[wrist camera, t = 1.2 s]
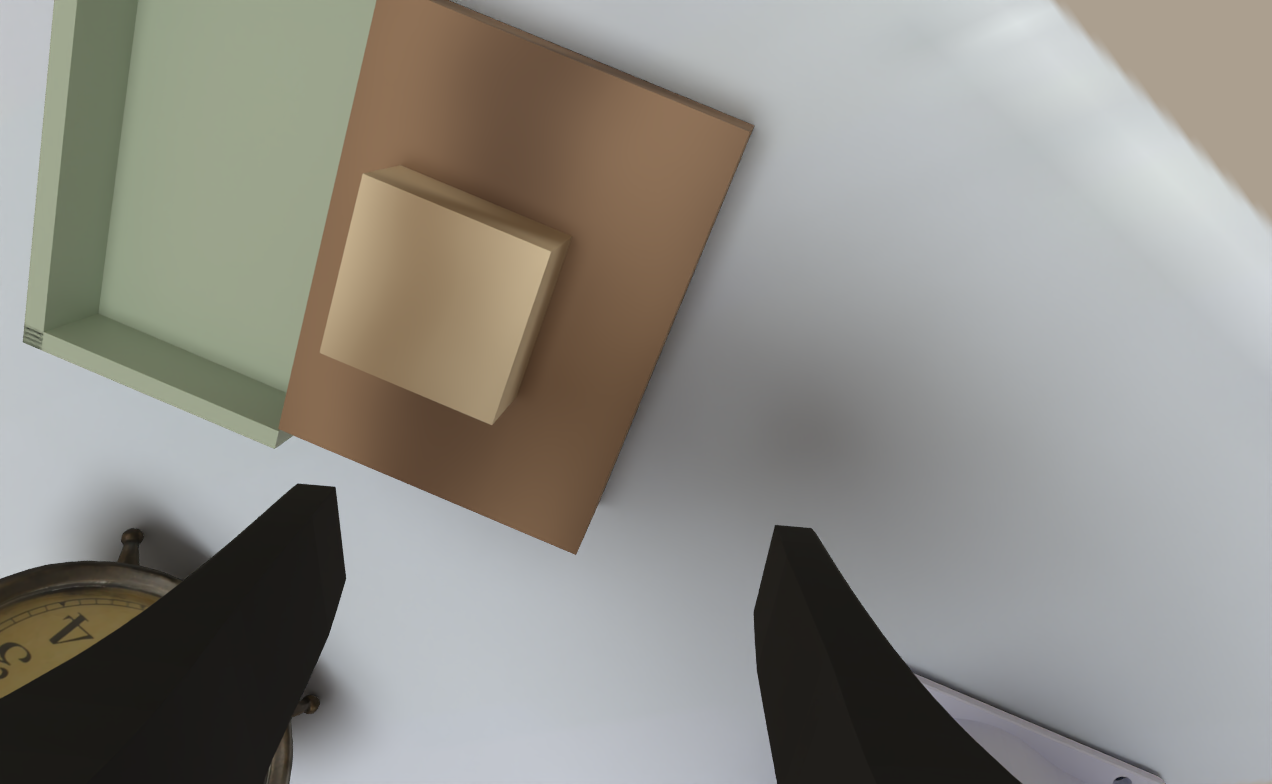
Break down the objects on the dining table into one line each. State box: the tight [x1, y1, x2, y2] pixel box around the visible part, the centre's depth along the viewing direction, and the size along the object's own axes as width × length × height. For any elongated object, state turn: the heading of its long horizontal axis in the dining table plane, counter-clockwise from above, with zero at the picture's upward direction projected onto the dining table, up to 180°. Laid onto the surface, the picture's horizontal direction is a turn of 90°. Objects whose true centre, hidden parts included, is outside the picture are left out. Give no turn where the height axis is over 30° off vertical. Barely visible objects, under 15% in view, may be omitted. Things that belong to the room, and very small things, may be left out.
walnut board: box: [278, 0, 754, 555], centre depth 23 cm, size 9×12×3 cm
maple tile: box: [320, 165, 572, 425], centre depth 20 cm, size 4×4×2 cm
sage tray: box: [23, 0, 376, 449], centre depth 23 cm, size 8×14×2 cm, turn 159°
